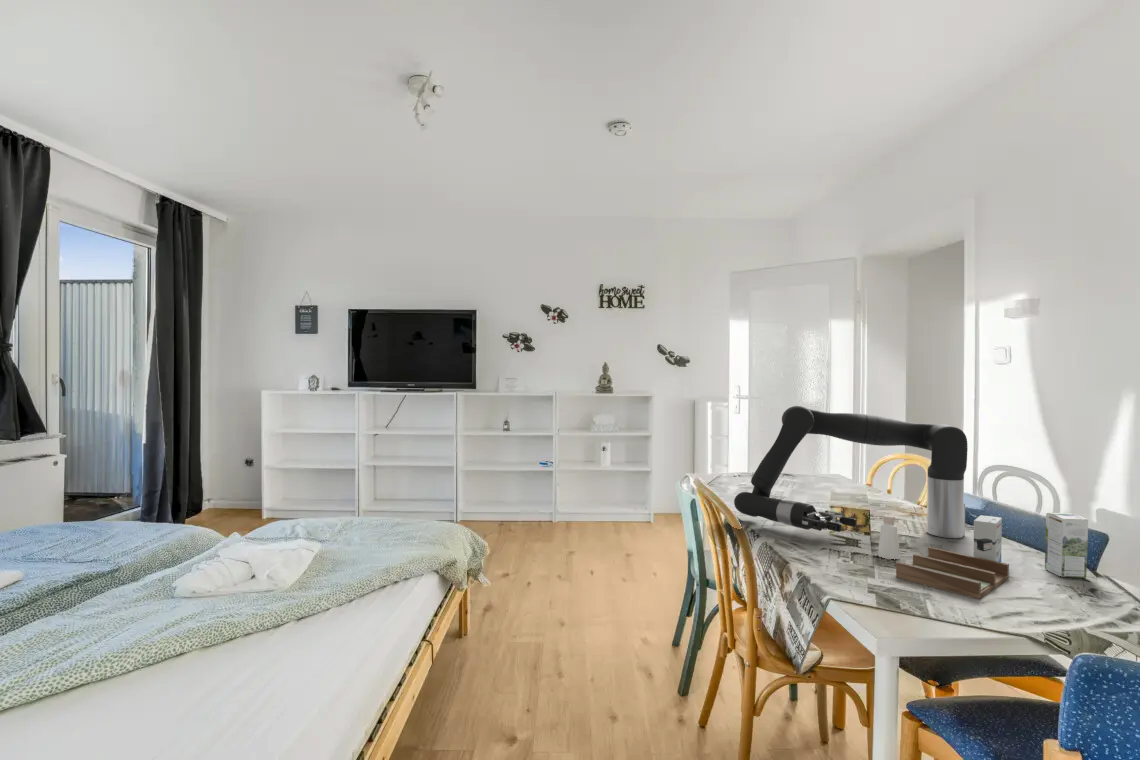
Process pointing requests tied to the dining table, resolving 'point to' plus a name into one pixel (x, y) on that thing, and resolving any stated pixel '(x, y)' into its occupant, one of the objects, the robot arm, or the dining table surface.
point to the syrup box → (1066, 544)
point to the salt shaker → (888, 539)
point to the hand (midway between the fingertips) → (848, 525)
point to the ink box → (988, 537)
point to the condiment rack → (954, 572)
